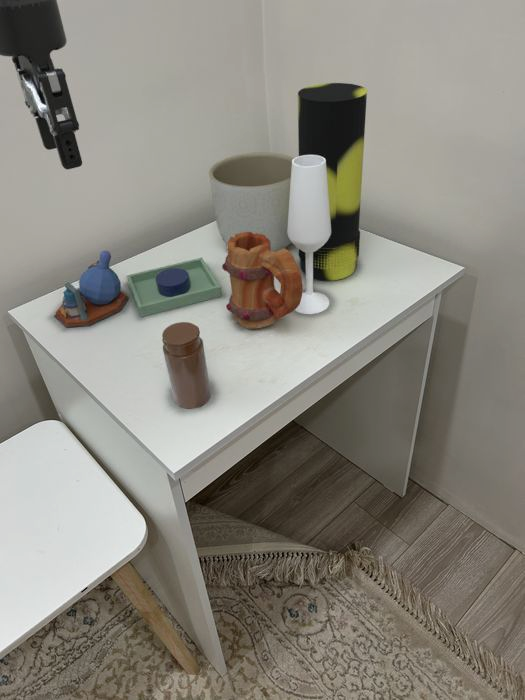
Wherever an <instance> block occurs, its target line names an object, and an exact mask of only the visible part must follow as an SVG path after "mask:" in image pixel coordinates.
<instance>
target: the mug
mask: <svg viewBox="0 0 525 700" xmlns="http://www.w3.org/2000/svg"><path fill="white" fill-rule="evenodd" d="M226 245H227V255H226V256H225V260H224V263H223V264H222V265H221V268H222V270H223V271H224V272H227V273H228V274H229V281H230V287H231V295H230V297H229V299H228V303H227V304H226V306H225V308H226V310H227V311H228V312H230V313H231V314H232V315H233V316H234V319H235V320H236V321H237V322H238V324H239V325H240V326H242V327H244V328H246V329H261V328H266V327H269V326H271V325H273V324H274V323H275V322H277V320H278V319H281V318H284V317H286V316H287V315H289V314H291V313H293V312H295V309H296V308H297V307H298V306H299V304H300V302H301V298H302V292H304V289H303V288H304V284H303V278H302V274H301V268H300V267H299V265H298V262H297V261H296V259H295V258H294V255H293V253H291V252H290V250H288V249H287V248H284V249H281V250H279V251H277V252H273V251H271V245H270V240H269V239H268V238H266V236H265V235H263V234H258V233H256V234H253V233H252V232H244V233H239V234H236V235H235V238H234V237H230V239H229V241H228V244H226ZM275 279H276V280H277V281H278V283H279V284H280V291H278V290H277V289H276V288H275Z"/></svg>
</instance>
